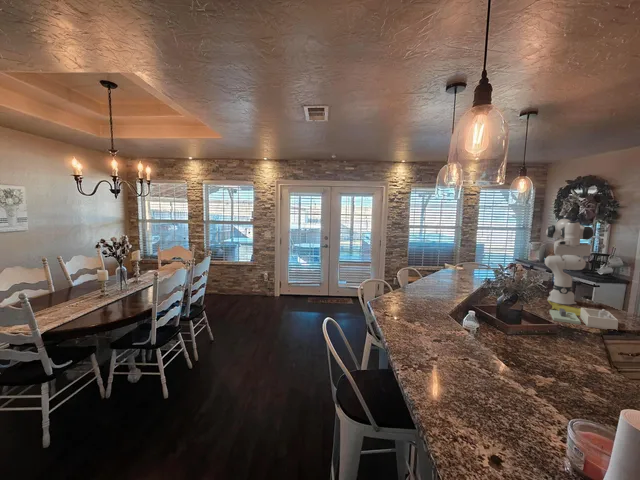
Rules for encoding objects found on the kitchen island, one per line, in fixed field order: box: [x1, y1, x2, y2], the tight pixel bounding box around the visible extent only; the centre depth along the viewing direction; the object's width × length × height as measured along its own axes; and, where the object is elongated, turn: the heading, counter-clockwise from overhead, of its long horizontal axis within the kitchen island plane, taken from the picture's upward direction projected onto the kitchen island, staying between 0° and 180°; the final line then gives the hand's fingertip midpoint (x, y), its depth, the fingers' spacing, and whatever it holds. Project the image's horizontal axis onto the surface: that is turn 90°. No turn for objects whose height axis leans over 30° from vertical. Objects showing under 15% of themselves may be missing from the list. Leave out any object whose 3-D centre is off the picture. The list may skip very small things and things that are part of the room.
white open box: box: [579, 307, 619, 331], centre depth 190 cm, size 20×14×9 cm
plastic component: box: [547, 300, 584, 317], centre depth 215 cm, size 20×7×10 cm
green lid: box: [549, 308, 582, 325], centre depth 201 cm, size 20×14×6 cm
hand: (571, 261), depth 211 cm, fingers open, 8 cm apart
